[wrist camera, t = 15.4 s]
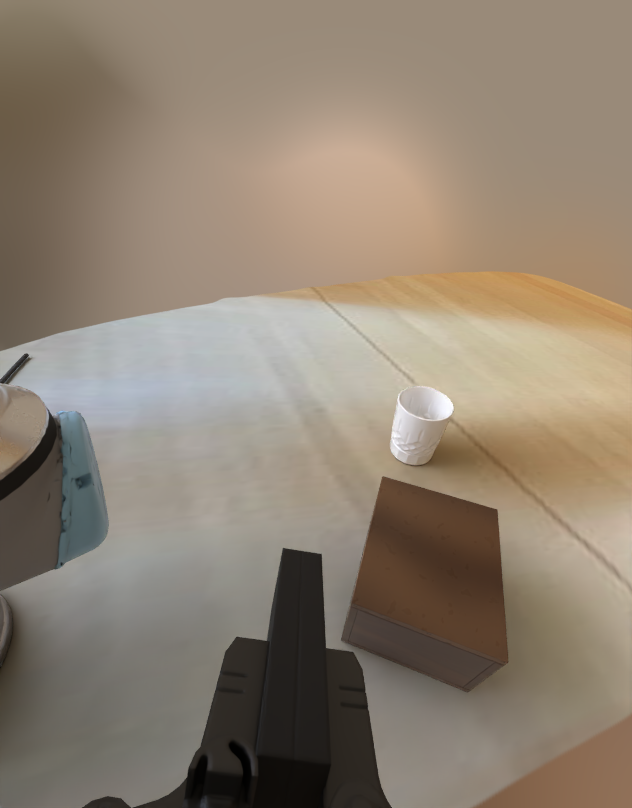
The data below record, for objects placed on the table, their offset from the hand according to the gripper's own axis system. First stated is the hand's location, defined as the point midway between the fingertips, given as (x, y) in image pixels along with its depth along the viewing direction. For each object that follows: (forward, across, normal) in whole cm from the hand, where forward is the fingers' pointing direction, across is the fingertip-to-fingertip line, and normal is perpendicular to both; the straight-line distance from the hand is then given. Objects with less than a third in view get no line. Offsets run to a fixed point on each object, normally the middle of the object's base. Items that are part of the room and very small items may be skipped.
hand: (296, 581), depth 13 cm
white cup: (+41, +18, -7) cm, 46 cm away
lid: (+18, +14, -9) cm, 25 cm away
